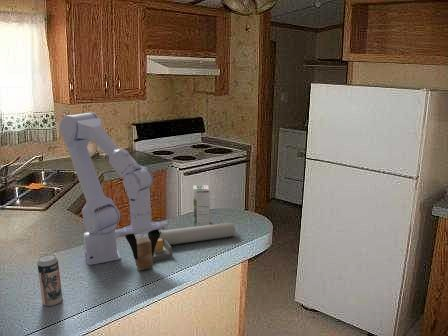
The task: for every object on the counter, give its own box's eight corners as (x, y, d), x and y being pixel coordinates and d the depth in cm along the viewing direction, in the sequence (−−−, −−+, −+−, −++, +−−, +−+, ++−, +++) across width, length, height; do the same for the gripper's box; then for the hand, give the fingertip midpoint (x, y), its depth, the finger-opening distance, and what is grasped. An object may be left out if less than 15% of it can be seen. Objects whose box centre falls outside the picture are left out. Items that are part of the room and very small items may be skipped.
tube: (231, 221, 146) (159, 229, 139) (236, 221, 141) (161, 230, 134) (233, 236, 146) (160, 246, 139) (237, 237, 141) (163, 247, 133)
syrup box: (193, 222, 156) (192, 184, 153) (209, 221, 157) (208, 184, 153) (194, 228, 151) (192, 189, 147) (210, 227, 151) (209, 188, 148)
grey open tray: (172, 257, 129) (172, 246, 128) (150, 262, 126) (149, 251, 125) (161, 242, 139) (161, 232, 139) (140, 246, 137) (140, 236, 136)
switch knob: (163, 248, 130) (162, 240, 130) (153, 250, 129) (152, 242, 128) (161, 247, 132) (161, 238, 131) (152, 248, 131) (151, 240, 130)
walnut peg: (138, 270, 120) (137, 244, 117) (135, 264, 123) (133, 238, 121) (152, 267, 121) (151, 241, 119) (149, 261, 125) (147, 236, 123)
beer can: (47, 309, 103) (42, 264, 100) (38, 302, 106) (32, 258, 103) (66, 301, 106) (61, 257, 103) (57, 294, 109) (51, 251, 106)
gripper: (116, 220, 111) (120, 267, 115) (169, 212, 117) (172, 257, 120) (112, 212, 118) (116, 257, 121) (162, 204, 123) (165, 247, 127)
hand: (143, 256), depth 121 cm, fingers closed on walnut peg, 4 cm apart
